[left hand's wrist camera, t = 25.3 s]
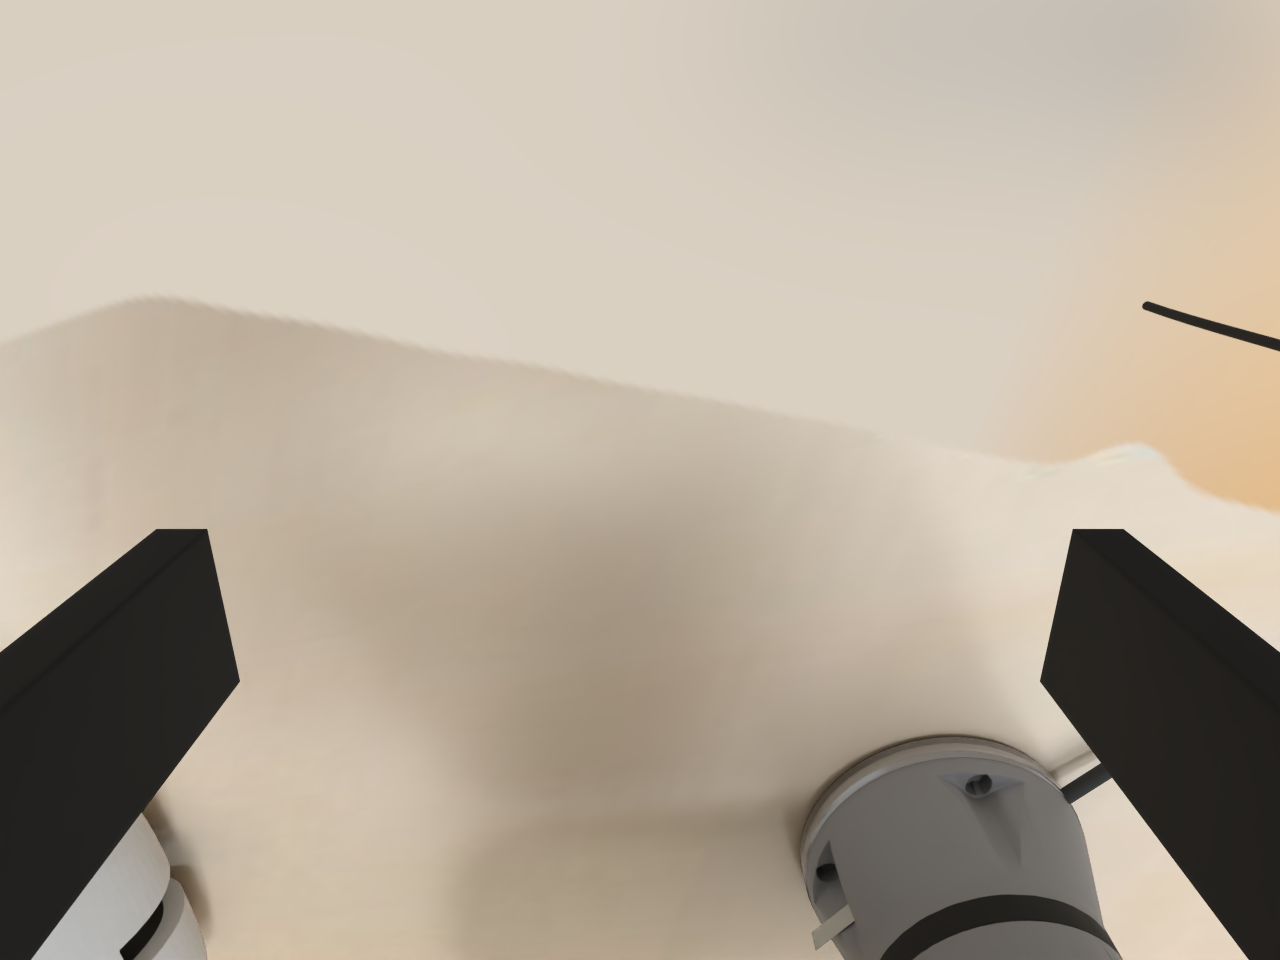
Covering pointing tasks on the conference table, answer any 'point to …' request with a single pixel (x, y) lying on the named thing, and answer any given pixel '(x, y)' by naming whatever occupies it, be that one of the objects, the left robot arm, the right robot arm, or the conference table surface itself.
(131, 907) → the projector
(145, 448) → the conference table surface
